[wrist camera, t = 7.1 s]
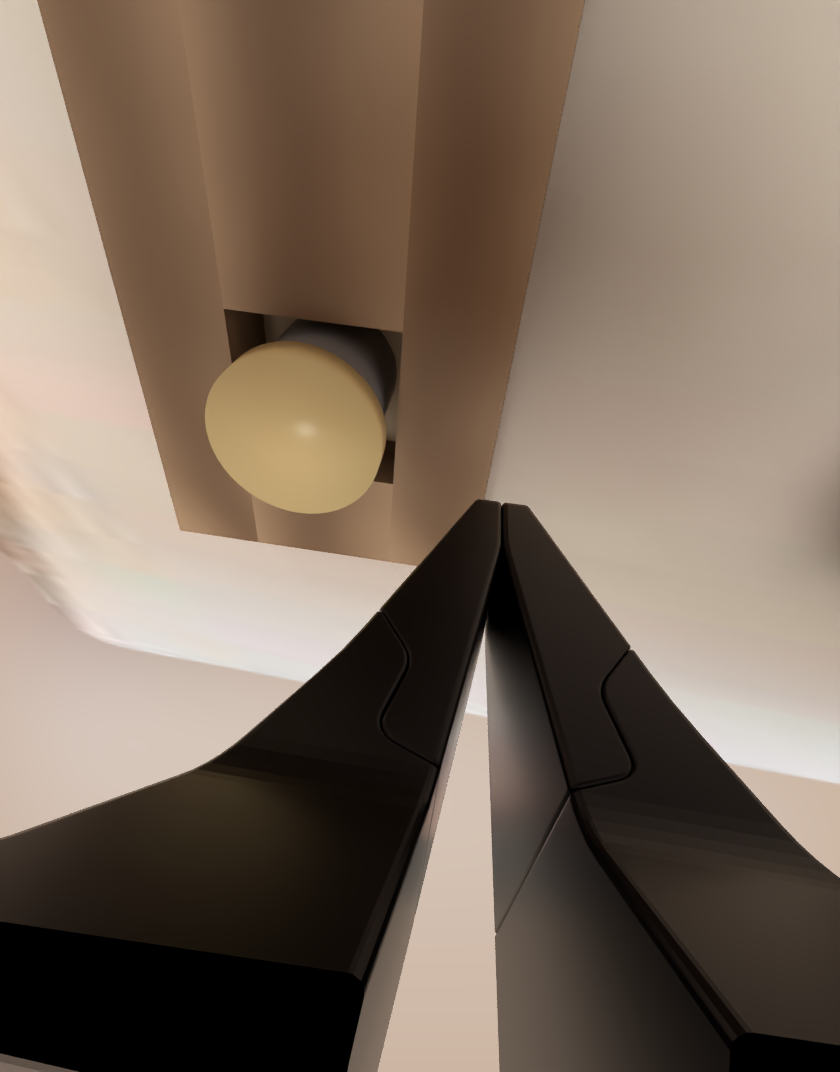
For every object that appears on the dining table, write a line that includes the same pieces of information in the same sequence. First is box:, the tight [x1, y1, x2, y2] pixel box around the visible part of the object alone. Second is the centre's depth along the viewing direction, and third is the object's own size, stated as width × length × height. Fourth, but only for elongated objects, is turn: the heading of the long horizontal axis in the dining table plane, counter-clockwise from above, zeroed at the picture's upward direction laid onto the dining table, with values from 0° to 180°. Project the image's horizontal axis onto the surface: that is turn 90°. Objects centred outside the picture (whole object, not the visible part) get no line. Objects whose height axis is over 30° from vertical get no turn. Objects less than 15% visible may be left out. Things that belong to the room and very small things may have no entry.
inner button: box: [205, 319, 397, 514], centre depth 18 cm, size 5×5×6 cm
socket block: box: [37, 0, 585, 566], centre depth 14 cm, size 12×26×4 cm, turn 175°
